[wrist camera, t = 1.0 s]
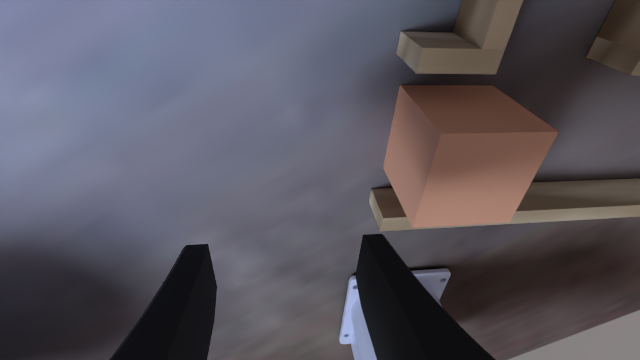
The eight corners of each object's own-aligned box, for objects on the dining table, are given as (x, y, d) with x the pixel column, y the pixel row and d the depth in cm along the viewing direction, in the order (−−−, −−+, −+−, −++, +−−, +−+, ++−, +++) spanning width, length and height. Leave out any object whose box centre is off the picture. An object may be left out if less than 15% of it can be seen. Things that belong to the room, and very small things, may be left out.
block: (462, 164, 20) (509, 222, 16) (382, 167, 20) (412, 227, 16) (492, 84, 17) (558, 131, 13) (399, 84, 17) (441, 133, 13)
